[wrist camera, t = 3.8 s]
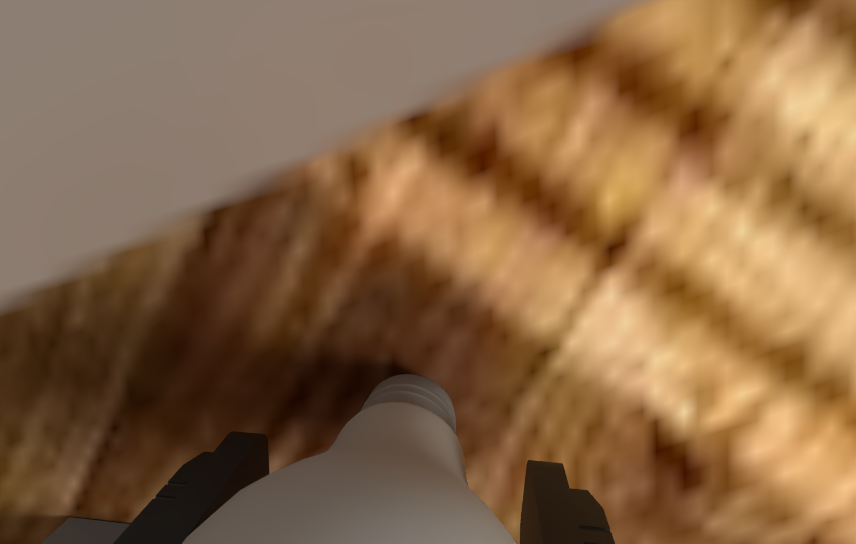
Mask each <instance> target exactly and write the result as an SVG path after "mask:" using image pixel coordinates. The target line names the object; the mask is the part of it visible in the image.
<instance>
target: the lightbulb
mask: <svg viewBox="0 0 856 544" xmlns="http://www.w3.org/2000/svg"><path fill="white" fill-rule="evenodd" d="M182 544H517V543H516V542H515V540H514V539H513V538H512V536H511V535H510V533H509V532H508V531H507V529H506V528H505V527H504V526H503V525H502V523H501V522H500V521H499V520H498V518H497V517H496V516H495V515H494V514H493V512H492V511H491V510H490V509H489V507H488V506H487V505H486V504H485V503H484V502H483V501H482V500H481V499H480V498H479V497H478V496H477V495H476V494H475V493H474V492H473V491H472V490H471V489H470V488H469V486H468V483H467V479H466V473H465V460H464V455H463V450H462V447H461V445H460V443H459V440H458V438H457V436H456V419H455V413H454V408H453V404H452V402H451V400H450V398H449V396H448V395H447V393H446V392H445V391H444V390H443V389H442V388H441V387H440V386H439V385H438V384H436V383H435V382H433V381H432V380H430V379H428V378H425V377H423V376H419V375H413V374H402V375H396V376H393V377H390V378H388V379H386V380H384V381H382V382H381V383H380V384H379V385H377V386H376V387H375V388H374V390H373V391H372V392H371V394H370V396H369V398H368V399H367V400H366V402H365V403H364V405H363V407H362V409H361V410H360V412H359V413H358V414H356V415H355V416H354V417H353V418H352V419H351V420H349V421H348V422H347V423H346V425H345V426H344V428H343V429H342V430H341V432H340V433H339V435H338V437H337V438H336V440H335V442H334V444H333V445H332V446H331V447H330V448H329V449H328V450H327V451H326V452H325V453H322V454H319V455H315V456H312V457H309V458H306V459H302V460H300V461H298V462H296V463H293V464H291V465H289V466H287V467H284V468H282V469H280V470H277V471H275V472H273V473H271V474H269V475H267V476H265V477H263V478H261V479H259V480H258V481H256V482H254V483H252V484H250V485H249V486H247V487H245V488H243V489H241V490H240V491H239V492H238V493H236V494H235V495H234V496H233V497H232V498H231V499H230V500H228V501H227V502H226V503H225V504H224V505H223V506H222V507H220V508H219V509H218V510H217V511H216V512H215V513H213V514H212V515H211V516H210V517H209V518H208V519H207V520H206V521H204V522H203V523H202V524H201V525H200V526H199V527H198V528H196V529H195V530H194V531H193V532H192V533H191V534H190V535H189V536H187V537H186V539H185V540H184V542H183V543H182Z"/></svg>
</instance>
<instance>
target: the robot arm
mask: <svg viewBox="0 0 856 544" xmlns="http://www.w3.org/2000/svg"><path fill="white" fill-rule="evenodd" d="M267 475H269V455H268V440H267V437H266V435H265V434H256V433H245V432H235V431H233V432H231V433H229V434H228V435H227V437H226V438H225V439H224V440H223V441H222V443H221V444H220V445H219V446H218V447H217V449H216V450H215V451H214V452H203V453H202V454H200V455H198V456H197V457H195V458H194V459H192V460H190V461H189V462H187V463H185V464H184V465H183V466H182V467H181V468H180V469H179V470H178V471H177V472H176V473H175V475H174V476H173V477H172V478H171V479H170V480H169V481H168V485H165V486H164V487H163V488H162V489H161V490H160V491H159V493H158V494H157V495H156V498H155V499H152V500H151V501H150V503H149V504H148V505H147V506H146V507H145V508H144V509H143V510H142V512H141V513H140V514H139V515H138V516H137V517H136V518H135V519H134V521H133V522H132V523H131V524H130V525H129V526H128V527H127V528H126V530H125V531H124V532H123V533H122V534H121V535H120V536H119V537H118V538H117V540H116V541H115V542H114V543H113V544H182V543H183V542H184V540H185V539H186V537H187V536H189V535H190V534H191V533H192V532H193V531H194V530H195V529H196V528H198V527H199V526H200V525H201V524H202V523H203V522H204V521H206V520H207V519H208V518H209V517H210V516H211V515H212V514H213V513H215V512H216V511H217V510H218V509H219V508H220V507H222V506H223V505H224V504H225V503H226V502H227V501H228V500H230V499H231V498H232V497H233V496H234V495H235V494H236V493H238V492H239V491H240V490H241V489H243V488H245V487H247V486H249V485H250V484H252V483H254V482H256V481H258V480H259V479H261V478H263V477H265V476H267ZM520 544H615V542H614V539H613V536H612V533H611V532H610V527H609V524H608V522H607V519H606V516H605V513H604V510H603V508H602V507H601V505H600V504H599V503H598V502H597V501H596V500H595V499H594V497H593V496H592V495H591V494H590V493H589V492H588V490H579V489H569V485H568V481H567V477H566V474H565V470H564V466H563V464H562V463H553V462H543V461H532V460H528V462H527V467H526V476H525V485H524V494H523V503H522V512H521V523H520Z"/></svg>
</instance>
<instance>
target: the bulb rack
mask: <svg viewBox="0 0 856 544" xmlns="http://www.w3.org/2000/svg"><path fill="white" fill-rule="evenodd" d="M129 525H130V524H126V523H117V522H108V521H99V520H90V519H81V518H73V517H69V518H68V519H67V520H66V521H65V522H63V523H62V524H61V525H60V526H59V527H58V528H57V529H56V530H55V531H54V532H53V533H52V534H51V535H50V536H49V537H47V538H46V539H45V540H44V541H43V542H42V543H41V544H113V543H114V542H115V541H116V540H117V538H118V537H119V536H120V535H121V534H122V533H123V532H124V531H125V530H126V528H127V527H128V526H129Z"/></svg>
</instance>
